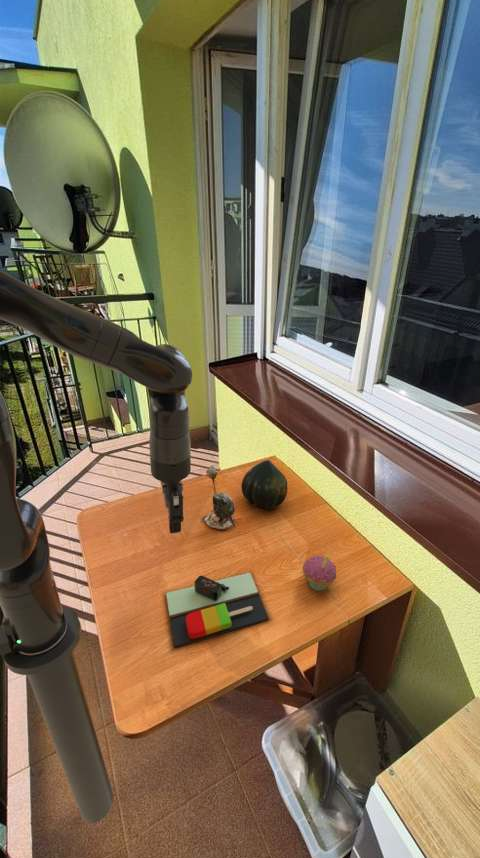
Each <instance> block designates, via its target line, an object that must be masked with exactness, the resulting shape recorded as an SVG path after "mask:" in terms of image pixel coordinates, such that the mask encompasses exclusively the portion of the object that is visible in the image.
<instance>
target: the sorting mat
mask: <svg viewBox="0 0 480 858" xmlns="http://www.w3.org/2000/svg"><path fill="white" fill-rule="evenodd" d="M214 581H215V582H218V583H220V584H224V585H225V586H226V587H227V586H228V587H229V589H228V590H226V591H225V592H223V591H222V594H221V596H220V597H219V598H218V600H217V601H214V600H212V599H210V598H207V597H205V596H203V595H201V594H199V593H197V592H195V585H193V586H188V587H183V588H181V589H176V590H173V591H169V592H165V597H166V603H167V609H168V615H169V616H168V617H169V622H170V628H171V635H172V643H173V648H174V649H176V648H179V647H183V646H185V645H189V644H193V643H196V642H199V641H203V640H207V639H210V638H213V637H216V636H220V635H222V634H226V633H229V632H232V631H236V630H239V629H242V628H246V627H250V626H252V625H257V624H259V623H262V622H266V621H269V620H270V618H269V615H268V613H267V610H266V608H265V605H264V603H263V601H262V597H261V596H260V591H258V588H257V586H256V583H255V581H254V578H253V575H252V573H251V572H246V573H242V574H237V575H234V576H230V577H229V576H228V577H226V578H222V579H218V580H214ZM224 603H225V604H226V607H227V610H228V613H229V612H232V611H236V610H239V609H242V608H246V607H249V606H252V607H253V610H251V611H248V612H244V613H241V614H238V615H234V616H231V617H230V619H231V623H232V625H231V627H230V628H227V629H224V630H221V631H218V632H214V633H211V634H208V635H205V636H202V637H198V638H195V639H192V638H190V637H189V635H188V631H187V626H186V616H187V615H188V614H189V613H192V612H196V611H199V610H203V609H206V608H210V607H213V606H217V605H220V604H224Z"/></svg>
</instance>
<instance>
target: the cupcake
mask: <svg viewBox="0 0 480 858" xmlns="http://www.w3.org/2000/svg"><path fill="white" fill-rule="evenodd" d="M329 557H330V556H329V553H327V554H326V555H325V556H323V555H313V556H309V558H307V559H306V560H305V561H304V563H303V565H302V573H303V577H304V579H305V580H306V581H308V585H309V587H310V588H311V589H313V590H314V591H323V590H326V588H327V587H328V586H329V585H331V584H333V583H334V581H335V580H336V579H337V567H336V565H335V563H334V562H332V560H330V559H329Z"/></svg>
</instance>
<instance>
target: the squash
mask: <svg viewBox="0 0 480 858" xmlns="http://www.w3.org/2000/svg"><path fill="white" fill-rule="evenodd" d="M240 485H241V493H242V495H243V497H244V498H245V499H246V500H247V502H248V504H249V505H252V506H254V505H255V506H256V507H263V509H264V510H266V511H272V510H273V509H274V508H275V507H278V506H281V505H282V504H283V503H284V501H285V499H286V497H287V494H288V480H287V477H286V476H285V475H284V474H283V473H282V471H281V470H280V469H279V468H278V467H277V466H276V465H275V464H274V463H273V461H271V460H270V459H267V460H263V461H261V462H259V463H257V464H256V465H253V466H252V467H251V468H250V469H248V471H247V472H245V474H244V476H243V478H242V481H241V484H240Z"/></svg>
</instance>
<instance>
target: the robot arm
mask: <svg viewBox="0 0 480 858" xmlns="http://www.w3.org/2000/svg"><path fill="white" fill-rule="evenodd" d="M0 320H1V321H5V322H7V323H10V324H12V325H14V326H17V327H18V328H21V329H23V330H25V331H27V332H28V333H31V334H33V335H35V336H36V337H38V338H40V339H41V340H43V341H45V342H46V343H48V344H50V345H52V346H53V347H55V348H57V349H59V350H61V351H63V352H65V353H68V354H69V355H71V356H74V357H76V358H78V359H81V360H84V361H86V362H89V363H92V364H95V365H97V366H100V367H103V368H106V369H108V370H111V371H115V372H118V373H119V374H122V375H123V376H125V377H126V378H128V379H130V380H132V381H134V382H136V383H137V384H139V385H141V386H143V387H145V388H147V389H146V390H147V396H148V402H149V404H148V405H149V409H148V410H149V412H148V413H149V414H148V418H149V441H148V442H149V443H148V445H149V461H150V462H149V463H150V464H149V465H150V474H151V476H152V477H153V478H154V479H155V480H157V481H158V482H160V487H161V493H162V494H163V500H164V501H163V502H164V507H165V508H166V509H167V514H168V515H167V519H168V531H169V533H170V534H177V533H180V532H181V531H182V522H184V520H185V517H184V496H183V491H184V484H183V482H182V481H183V480H184V479H186V478H188V477H189V475H190V474H191V471H192V470H191V469H192V467H191V465H192V464H191V463H192V461H191V459H192V458H191V457H192V455H191V451H192V449H191V447H192V446H191V445H192V444H191V443H192V442H191V436H190V411H189V405H188V403H187V400H186V390H187V389H188V388H189V387H190V386H191V384H192V381H193V371H192V370H193V369H192V366H191V365H190V363H189V361H188V360H187V358H186V357H185V356H184V354H183V353H182V352H181V350H179V349H178V348H177V347H176V346H173V345H171V344H167V343H161V344H157V345H154V344H152V343H149V342H147V341H146V340H143V339H141V338H140V337H139V336H138V335H137V334H135V333H134V332H133V331H131V330H129V329H128V328H126V327H124V326H122V325H119V324H117V323H115V322H113V321H110V320H108V319H105V318H104V317H101V316H99V315H96V314H94V313H92V312H90V311H87V310H85V309H83V308H80V307H77V306H75V305H73V304H71V303H68V302H66V301H64V300H61V299H59V298H56V297H54V296H52V295H51V294H48V293H46V292H44V291H42V290H39V289H37V288H35V287H33V286H31V285H29V284H27V283H26V282H24V281H21V280H20V279H17V278H16V277H14V276H12V275H10V274H8V273H7V272H5V271H3V270H1V269H0ZM15 435H16V434H15V430H14V426H13V423H12V418H11V415H10V410H9V408H8V404H7V402H6V400H5V396H4V395H3V393H2V391H1V390H0V608H1V611H2V613H3V618H2V622H1V624H0V656H2V655H3V654H7V653H11V652H12V651H13V654H14V655H17V654H21V655H23V656H27V657H34V656H39V655H42V654H45V653H47V652H49V651H50V650H52V649H54V648H55V647H56V646H57V645H58V644H59V643H60V642H61V641H62V640H63V638H64V637H65V635H66V633H67V628H68V626H67V622H66V619H65V616H64V613H63V609H62V606H63V605H62V602H61V598H60V594H59V591H58V588H57V583H56V580H55V576H54V572H53V568H52V566H51V549H50V543H49V539H48V533H47V529H46V525H45V521H44V518H43V515H42V513H41V512H40V510H39V508H37V507H36V506H35V504H33V503H31V502H30V501H28V500H25V499H21V498H17V493H16V484H17V483H16V480H17V479H16V478H17V442H16V436H15Z"/></svg>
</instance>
